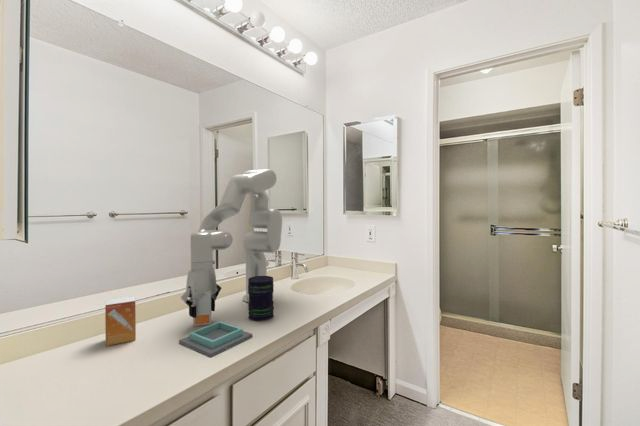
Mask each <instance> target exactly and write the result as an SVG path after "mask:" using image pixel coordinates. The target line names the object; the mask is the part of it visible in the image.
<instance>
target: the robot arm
mask: <svg viewBox="0 0 640 426" xmlns="http://www.w3.org/2000/svg"><path fill="white" fill-rule="evenodd" d="M276 184H277V174H276V173H275V171H274V170H273V169H271V168H263V169H249V170H245V171H243V172H242V174H240V173H239V174H234V175H233V176H231V177H230V178H229V180H228V182H227V185H226V188H225V190H224V192H223V195H222V197H221V199H220V202H219V203H218V205H217V206H216V207H215V208H213V209H212V210H211V211H210V212H209V213H208V214H207V215H206V216H204V218H203V220H202V222H201V223H200V226H199V228H198V230H197V231H196V232H193V233H191V234H190V270H188V272H187V277H186V278H187V279H186V285H185V286H186V287H185V292H184V293H183V294H182V295H181V296H180V300H182V301H183V303H184V304H186V305H187V306H188V314H189V317H191V318H195V317H196V306H195V304H196V301H197V299H198V298H202V297H204V293H205V292H209V291H211V312H215V311H216V310H215V309H216V300H217V298H218V296H219V294H220V292H221V290H222V286H220V285H219V284H217V276H216V271H215V268H214V264H215V263H216V262H215V260H214V259H213V253H214V252H213V251H216V250H217V251H219V250H220V251H222V250H226V249H228V248H230V247H231V245H233V244H232V243H233V239H234V238H233V236H232V234H231V233H230V232H229V231H227V230H224V229H223V230H221V229H217V227H218V226H219V225H221V223H223V222H224V221H226V220H228V219H229V218H232V217H234V216H236V215H238V214H239V213H240V211H241V209H242V206H243V204H244V200H245V197H246V196H247V195H249V200H250V202H249V211H248V212H249V214H248V224H249V226H250V227H251V228H254V229H264V230H265V229H266V231H263V230H261V231H260V230H258V231H257V230H256V231H255V230H252V231H249V232H247V233H245V235H244V236H243V239H242V244H243V249H244V254H245V255H244V256H245V294H244V295H243V296H242V301H243V302H245V303H249V294H248V283H249V282H248V279H249V278H251V277H255V276H268V275H267V274H268V273H267V267H268V266H267V264H268V263H267V262H268V261H267V258H266V254H264V253H267V254H274V253H277V251H279V249H280V247H281V241H282V230H283V229H282V228H283V216H282V213H281V211H280V210H279V209H278V208H274V207H271V208H270V207H269V199H270V198H269V195H268V193H267V192H266V191H267V190H270V189H271V188H274V186H275V185H276ZM188 298H189V299H188Z"/></svg>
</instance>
